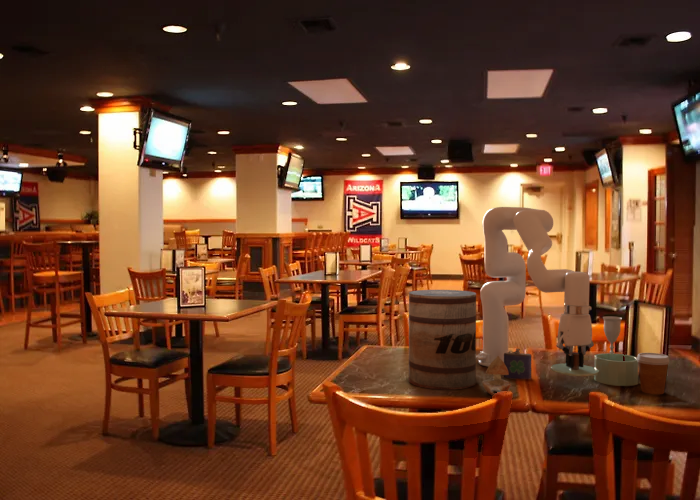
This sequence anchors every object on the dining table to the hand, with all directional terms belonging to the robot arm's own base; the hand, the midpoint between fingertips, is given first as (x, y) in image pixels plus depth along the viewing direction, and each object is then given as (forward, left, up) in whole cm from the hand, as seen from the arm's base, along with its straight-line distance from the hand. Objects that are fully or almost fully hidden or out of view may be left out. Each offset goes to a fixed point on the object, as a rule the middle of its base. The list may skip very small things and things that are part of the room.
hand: (574, 366), depth 206 cm
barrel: (-38, +19, -7) cm, 43 cm away
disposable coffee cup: (+20, -12, -7) cm, 24 cm away
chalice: (+34, +27, -7) cm, 44 cm away
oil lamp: (-28, -1, -7) cm, 29 cm away
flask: (-12, +15, -7) cm, 21 cm away
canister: (+18, +3, -7) cm, 20 cm away
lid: (0, 0, -1) cm, 1 cm away
